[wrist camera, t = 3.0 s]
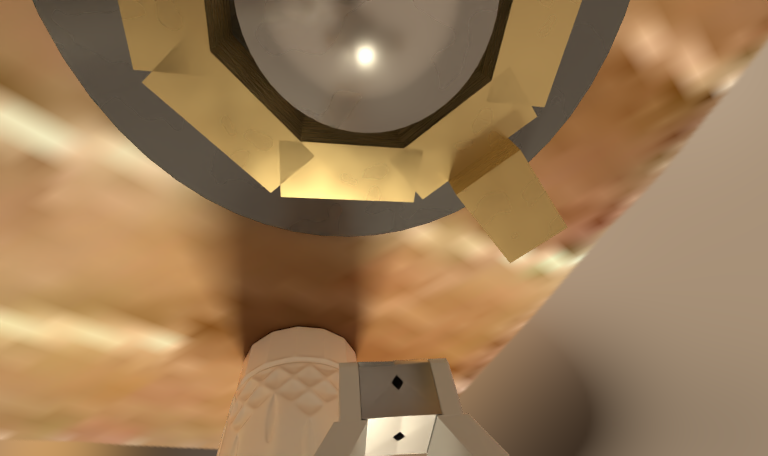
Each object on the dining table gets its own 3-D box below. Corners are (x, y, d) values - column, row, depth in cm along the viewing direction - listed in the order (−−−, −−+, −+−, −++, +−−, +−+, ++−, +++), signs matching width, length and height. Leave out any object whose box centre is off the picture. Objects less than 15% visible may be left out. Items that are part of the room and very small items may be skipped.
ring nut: (61, -48, 11) (-50, -53, 8) (391, -495, 8) (441, -828, 4) (395, 264, 19) (409, 325, 16) (622, 108, 16) (699, 145, 13)
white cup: (306, 296, 21) (295, 512, 13) (389, 361, 25) (421, 555, 17) (205, 362, 23) (139, 586, 15) (298, 412, 27) (286, 609, 19)
